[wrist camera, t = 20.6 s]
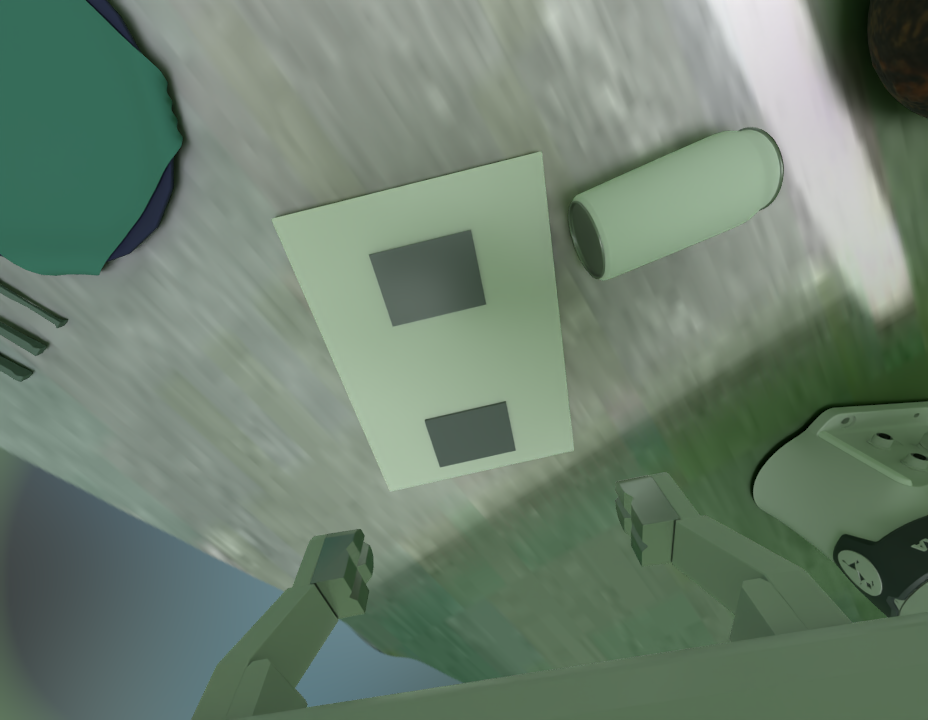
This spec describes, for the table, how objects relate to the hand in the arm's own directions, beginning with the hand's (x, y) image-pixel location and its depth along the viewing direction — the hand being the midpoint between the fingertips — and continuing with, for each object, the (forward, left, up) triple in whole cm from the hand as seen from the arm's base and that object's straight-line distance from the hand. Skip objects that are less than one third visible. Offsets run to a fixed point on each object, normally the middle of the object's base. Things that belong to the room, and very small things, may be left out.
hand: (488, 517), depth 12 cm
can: (-10, -3, -19) cm, 22 cm away
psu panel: (+1, +4, -22) cm, 23 cm away
